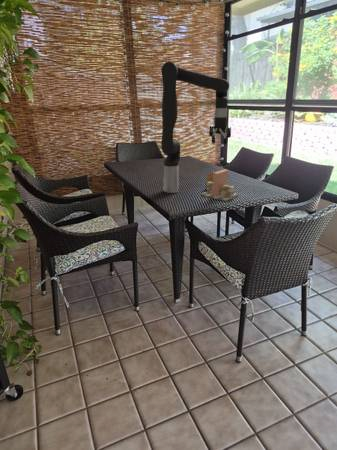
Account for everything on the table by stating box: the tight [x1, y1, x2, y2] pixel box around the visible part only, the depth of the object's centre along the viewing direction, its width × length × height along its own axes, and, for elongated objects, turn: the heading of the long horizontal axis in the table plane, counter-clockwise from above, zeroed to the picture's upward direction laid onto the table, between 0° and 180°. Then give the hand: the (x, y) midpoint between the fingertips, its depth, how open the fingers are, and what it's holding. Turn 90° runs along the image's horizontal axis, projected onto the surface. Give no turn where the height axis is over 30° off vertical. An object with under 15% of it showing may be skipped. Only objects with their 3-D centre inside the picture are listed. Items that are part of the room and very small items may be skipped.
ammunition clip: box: [205, 169, 220, 190], centre depth 207 cm, size 11×2×12 cm, turn 120°
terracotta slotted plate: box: [212, 169, 229, 196], centre depth 191 cm, size 3×12×14 cm, turn 137°
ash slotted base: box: [201, 181, 239, 202], centre depth 192 cm, size 18×14×7 cm
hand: (219, 144), depth 191 cm, fingers open, 8 cm apart
